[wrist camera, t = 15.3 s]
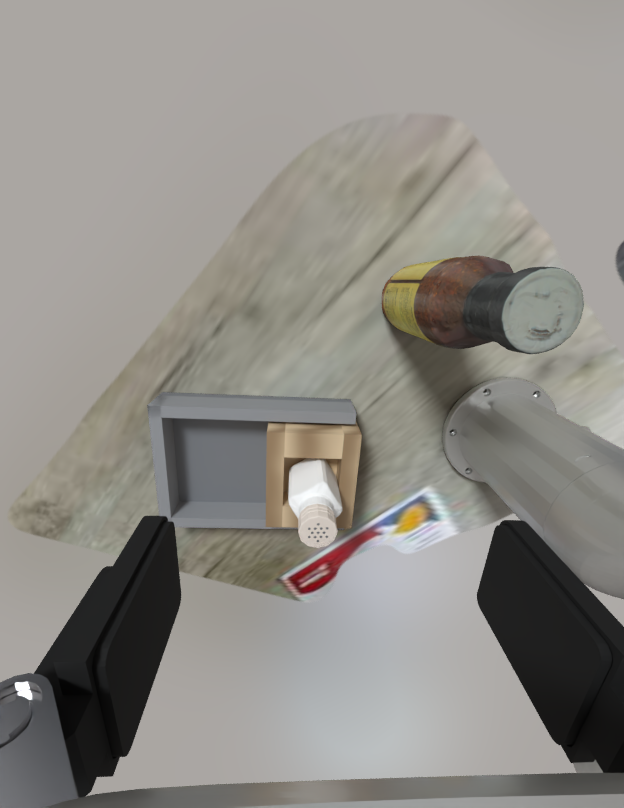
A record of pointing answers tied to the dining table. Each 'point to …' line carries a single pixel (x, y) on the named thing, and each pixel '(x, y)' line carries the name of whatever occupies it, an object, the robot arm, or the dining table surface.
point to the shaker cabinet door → (310, 441)
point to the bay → (223, 453)
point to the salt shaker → (315, 501)
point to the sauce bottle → (484, 304)
